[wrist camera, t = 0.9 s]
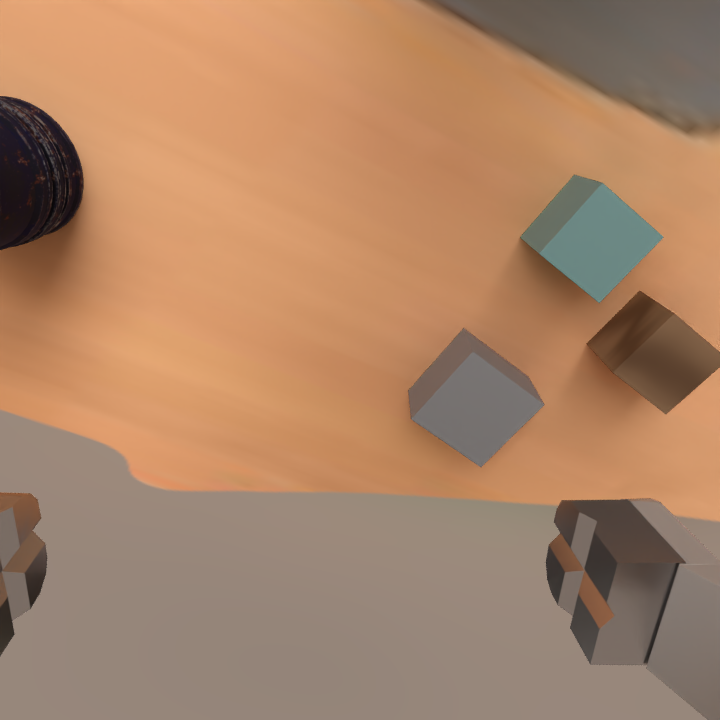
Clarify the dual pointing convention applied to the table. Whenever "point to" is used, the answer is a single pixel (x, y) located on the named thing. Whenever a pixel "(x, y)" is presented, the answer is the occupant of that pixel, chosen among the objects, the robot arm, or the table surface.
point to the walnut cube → (655, 352)
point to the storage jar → (35, 174)
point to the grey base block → (473, 398)
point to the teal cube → (591, 236)
